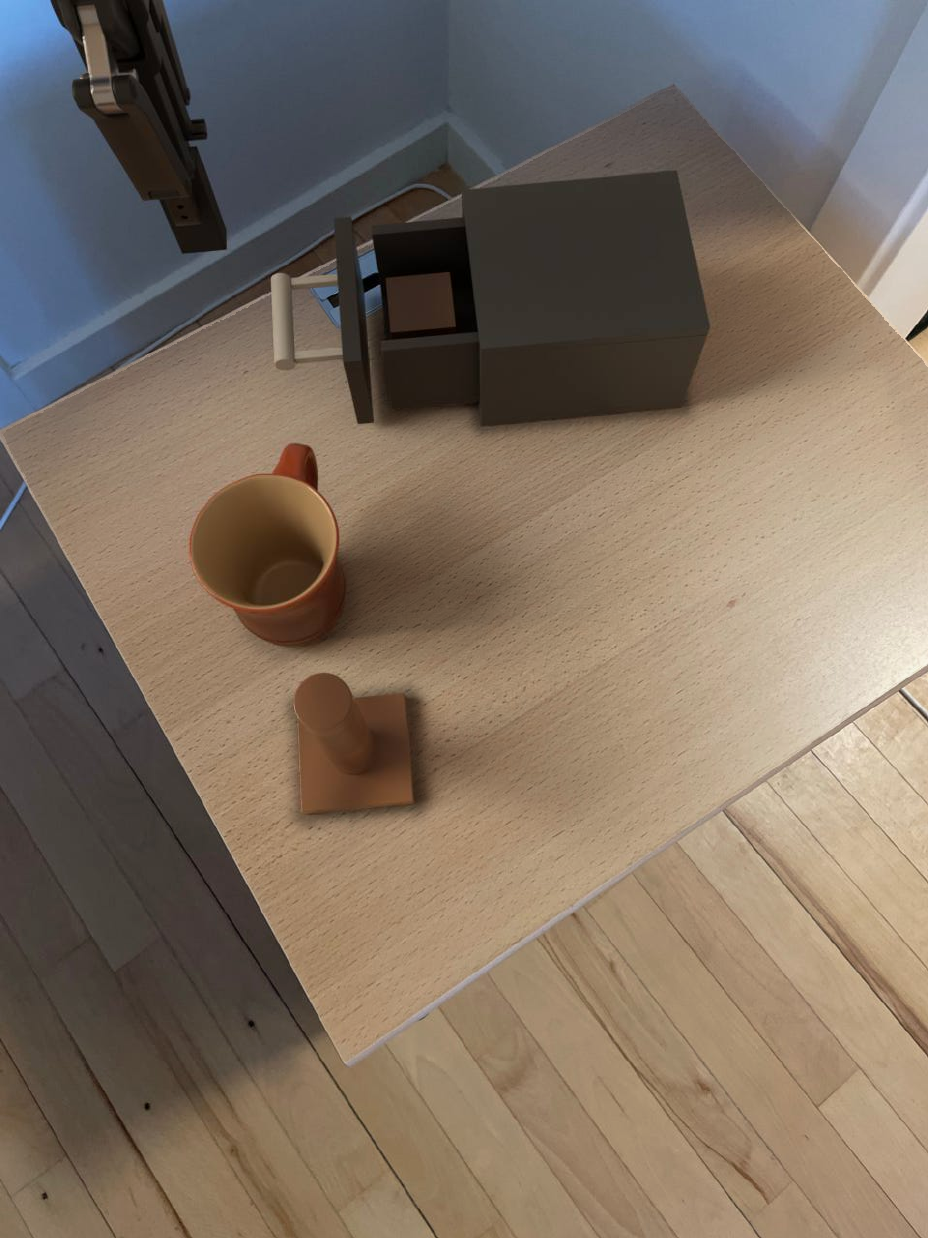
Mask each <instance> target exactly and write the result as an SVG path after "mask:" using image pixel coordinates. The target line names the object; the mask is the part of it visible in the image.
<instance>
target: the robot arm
mask: <svg viewBox="0 0 928 1238" xmlns="http://www.w3.org/2000/svg"><path fill="white" fill-rule="evenodd" d="M50 3H51V6H52V9H53V11H54V14H55V15H56V17H57V20H58V22H59V24H60V26H61V27H62V28H64V29H65V30H66V31H67V32H68V33H69V35H70V36H71V38H72V40H73V42H74V45H75V47H76V49H77V51H78V54H79V56H80V58H81V60H82V62H83V65H84V67H85V69H86V71H87V72H82V73H81V74H79V78H75V79H73V80H72V82H71V92H72V93H71V94H72V98H73V99H74V100H73V101H75V103H76V106H77V108H78V109H79V111H80V112H82V113H83V114H85V115H86V116H88V117H89V118H90V119H91V120H92V121H93V122H94V124H95V125H96V127H97V129H98V130H99V132H100V133H101V135H102V136H103V138H104V140H105V142H106V143H107V145H108V146H109V148H110V149H111V152H112V153H113V154H114V156H115V157H116V159H117V161H118V162H119V164H120V166H121V167H122V169H123V171H124V172H125V174H126V175H127V177H128V179H129V180H130V182H131V183H132V185H133V186H134V188H135V190H136V192H137V194H138V195H139V196H140V198H141V199H142V201H144V202H147V201H157V200H158V201H159V203H160V206H161V208H162V210H163V213H164V215H165V217H166V220H167V222H168V224H169V227H170V229H171V231H172V233H173V237H174V238H175V241H176V243H177V245H178V247H179V250H180V252H181V254H182V255H185V254H197V253H207V252H218V251H227V250H228V237H227V236H228V233H227V232H228V229H227V227H226V224H225V222H224V219H223V215H222V212H221V210H220V207H219V204H218V202H217V199H216V196H215V193H214V190H213V187H212V185H211V182H210V179H209V177H208V173H207V170H206V168H205V165H204V162H203V158H202V156H201V154H200V151H199V148H198V146H197V145H193V146H191V144H190V142H194V141H195V142H197V141H205V140H208V130H207V129H208V128H207V124H206V119H205V118H197V119H191V117H190V114H189V112H188V109H187V107H189V106H190V104H191V102H190V101H191V90H190V88H189V87H188V84H187V81H186V78H185V74H184V69H183V67H182V64H181V60H180V56H179V53H178V49H177V45H176V41H175V38H174V35H173V32H172V27H171V24H170V20H169V18H168V17H169V16H168V14H167V10H166V7H165V3H164V0H50Z"/></svg>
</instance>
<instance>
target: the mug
mask: <svg viewBox="0 0 928 1238" xmlns="http://www.w3.org/2000/svg"><path fill="white" fill-rule="evenodd" d="M318 467H319V466H318V461H317V457H316V453H315V451H314V449H313V448H312V447H311V446H310V445H309V444H304V443H299V442H290V443H288V444H287V445H285V446H284V448H283V450H282V452H281V454H280V456H279V460H278V462H277V465H276V466H275V468H274V469H273V470H272V472H271V473H256V474H251V475H248V476H245V477H243V478H239V479H237V480H235V481H233V482H231V483H229V484H228V485H226V486H224V487H222V488H221V489H220V490H219V491H217V492H216V493H215V494H213V495H212V496H211V498H210V499H208V500H207V502H206V503H205V504H204V505H203V506H202V508H201V509H200V511H199V513H198V514H197V516H196V518H195V520H194V523H193V525H192V528H191V531H190V536H189V542H188V543H189V545H188V548H189V549H188V551H189V552H188V553H189V558H190V559H189V560H190V564H191V569H192V570H193V573H194V576H195V577H196V579H197V581H198V583H199V584H200V586H201V587H202V588H203V589H204V590H205V592H206V593H208V594H209V595H210V596H211V597H212V598H213V599H215V600H216V601H217V602H219V603H221V604H222V605H225V606H226V607H228V608H231V609H232V610H233V611H234V612H235V614H236V616H237V618H238V620H239V621H240V623H241V624H242V625H243V626H244V628H245V629H247V630H248V631H249V632H250V633H251V634H253V635H254V636H255V637H257V638H259V639H260V640H262V641H264V642H266V643H269V644H271V645H275V646H278V647H283V648H296V647H297V648H298V647H303V646H307V645H310V644H313V643H315V642H317V641H319V640H320V639H322V638H324V637H325V636H326V635H327V634H329V632H331V630H332V629H333V628H334V627H335V626H336V624H337V623H338V621H339V620H340V618H341V615H342V613H343V610H344V607H345V601H346V594H347V581H346V580H347V579H346V575H345V571H344V568H343V567H342V564H341V562H340V560H339V557H338V554H339V548H340V530H339V525H338V521H337V518H336V514H335V513H334V510H333V508H332V507H331V505H330V504H329V502H328V501H327V500H326V498H325V497H324V496H323V495H322V493H320V491H319V468H318Z"/></svg>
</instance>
